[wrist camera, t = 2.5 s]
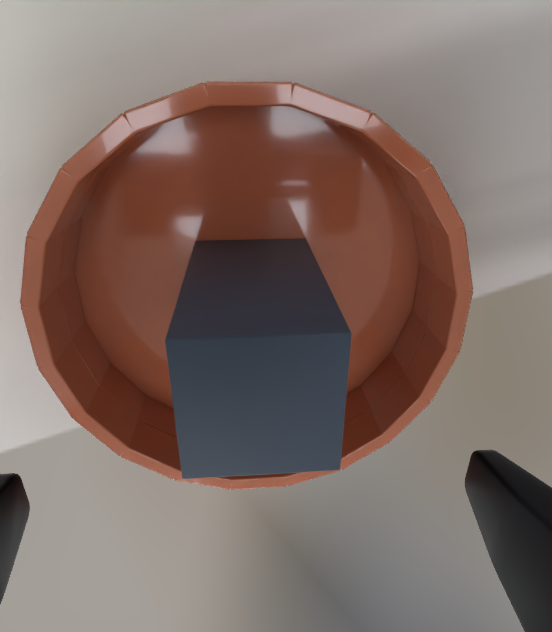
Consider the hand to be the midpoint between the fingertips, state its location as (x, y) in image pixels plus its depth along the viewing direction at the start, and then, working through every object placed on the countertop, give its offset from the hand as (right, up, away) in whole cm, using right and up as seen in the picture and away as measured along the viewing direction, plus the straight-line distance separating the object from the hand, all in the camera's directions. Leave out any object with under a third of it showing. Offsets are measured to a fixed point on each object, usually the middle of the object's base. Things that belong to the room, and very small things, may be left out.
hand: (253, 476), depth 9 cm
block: (-1, +4, +10) cm, 11 cm away
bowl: (-1, +5, +10) cm, 11 cm away
